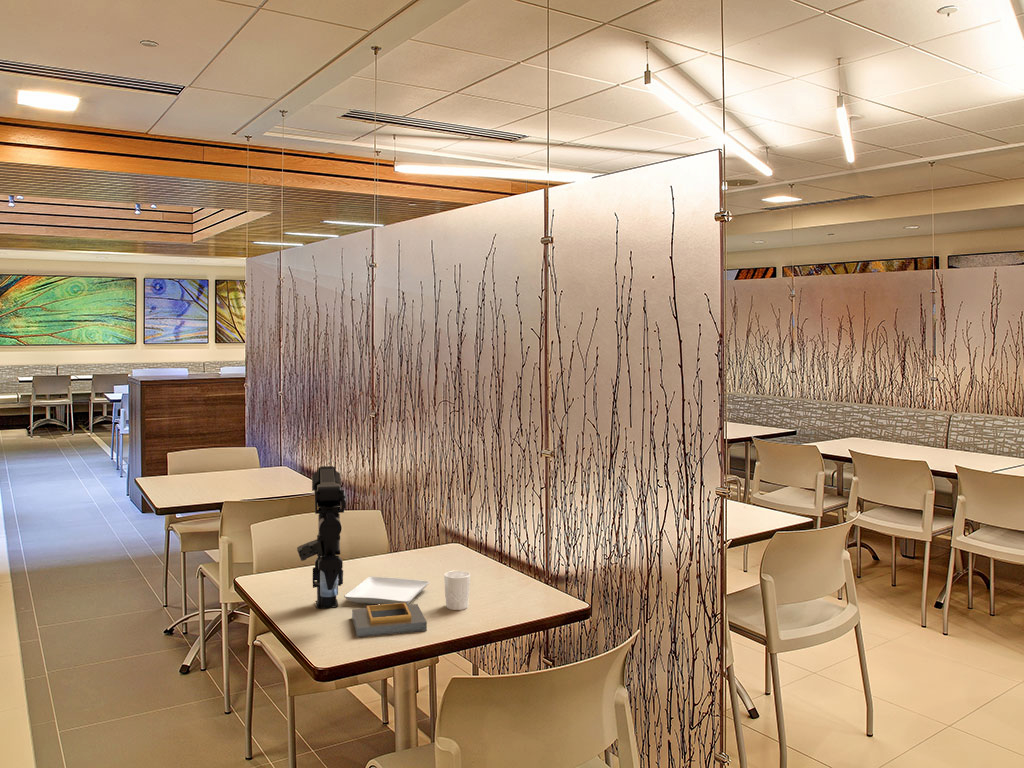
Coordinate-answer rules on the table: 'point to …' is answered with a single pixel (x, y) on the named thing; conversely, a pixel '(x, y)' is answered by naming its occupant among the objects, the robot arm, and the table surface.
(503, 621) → the table surface
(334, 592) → the can
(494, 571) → the table surface
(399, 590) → the salad plate
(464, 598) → the white cup
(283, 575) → the table surface
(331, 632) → the table surface
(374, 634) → the grey and gold frame
